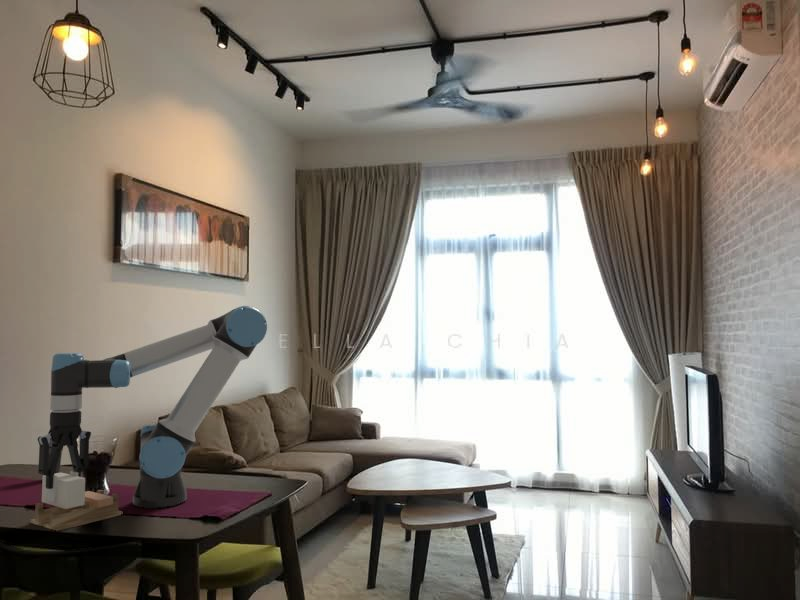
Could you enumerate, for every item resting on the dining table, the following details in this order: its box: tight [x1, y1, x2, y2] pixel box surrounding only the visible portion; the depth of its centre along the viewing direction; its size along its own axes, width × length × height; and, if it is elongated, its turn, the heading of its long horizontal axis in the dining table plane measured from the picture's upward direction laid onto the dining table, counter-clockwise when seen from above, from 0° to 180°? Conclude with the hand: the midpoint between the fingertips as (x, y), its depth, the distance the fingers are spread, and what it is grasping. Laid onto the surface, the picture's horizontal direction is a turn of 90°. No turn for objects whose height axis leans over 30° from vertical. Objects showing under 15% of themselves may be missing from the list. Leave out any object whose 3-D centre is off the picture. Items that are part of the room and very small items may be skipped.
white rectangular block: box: [41, 472, 86, 509], centre depth 172 cm, size 12×5×7 cm, turn 56°
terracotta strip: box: [85, 490, 113, 508], centre depth 179 cm, size 12×4×2 cm, turn 57°
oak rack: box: [30, 489, 124, 532], centre depth 175 cm, size 13×18×5 cm
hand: (62, 498), depth 172 cm, fingers closed on white rectangular block, 5 cm apart
